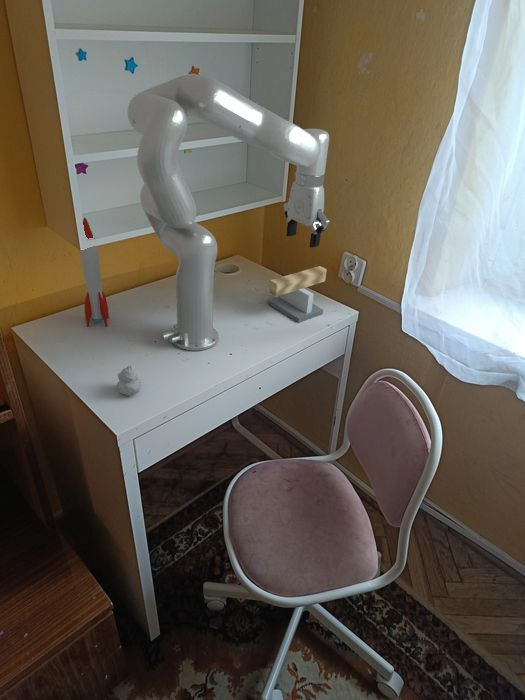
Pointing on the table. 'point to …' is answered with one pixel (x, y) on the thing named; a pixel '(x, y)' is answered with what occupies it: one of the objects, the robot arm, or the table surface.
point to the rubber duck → (128, 381)
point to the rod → (297, 281)
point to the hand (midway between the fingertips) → (302, 241)
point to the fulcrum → (296, 305)
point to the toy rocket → (93, 283)
